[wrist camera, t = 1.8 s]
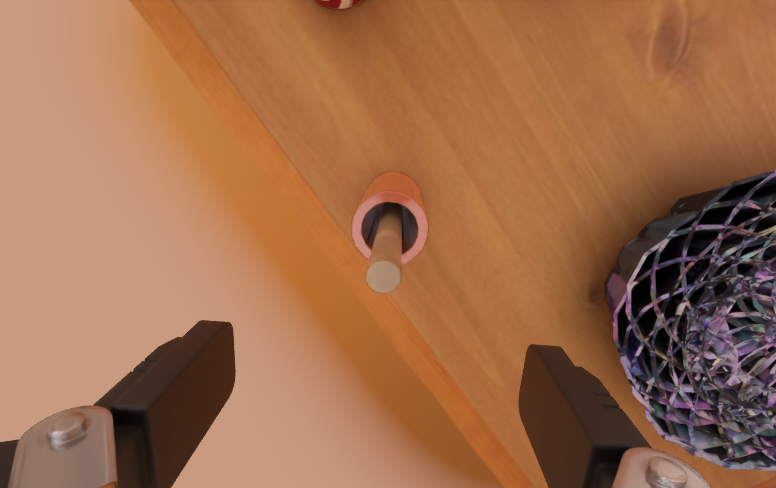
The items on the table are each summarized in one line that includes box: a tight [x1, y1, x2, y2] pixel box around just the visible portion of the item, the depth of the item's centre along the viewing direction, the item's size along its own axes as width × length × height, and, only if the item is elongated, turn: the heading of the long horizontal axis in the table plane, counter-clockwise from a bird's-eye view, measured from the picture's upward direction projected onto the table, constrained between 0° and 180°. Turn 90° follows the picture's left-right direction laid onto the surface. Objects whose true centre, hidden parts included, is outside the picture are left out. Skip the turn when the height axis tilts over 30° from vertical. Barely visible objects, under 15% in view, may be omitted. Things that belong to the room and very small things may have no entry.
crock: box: [351, 172, 429, 264], centre depth 32 cm, size 5×5×12 cm
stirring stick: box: [366, 202, 402, 294], centre depth 27 cm, size 2×2×20 cm
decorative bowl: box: [604, 170, 776, 472], centre depth 35 cm, size 26×28×10 cm
